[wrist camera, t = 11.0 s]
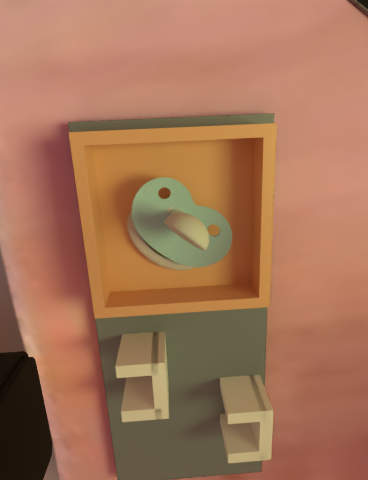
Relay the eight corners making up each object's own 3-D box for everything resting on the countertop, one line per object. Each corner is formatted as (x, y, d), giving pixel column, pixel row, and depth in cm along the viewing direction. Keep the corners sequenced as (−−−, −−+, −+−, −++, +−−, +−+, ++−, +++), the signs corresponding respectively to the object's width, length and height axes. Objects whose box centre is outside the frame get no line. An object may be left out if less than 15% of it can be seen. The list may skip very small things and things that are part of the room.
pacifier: (187, 282, 26) (237, 224, 25) (192, 328, 20) (258, 254, 19) (109, 228, 24) (158, 162, 23) (89, 260, 19) (153, 174, 17)
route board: (268, 114, 24) (296, 108, 19) (258, 460, 34) (274, 515, 29) (72, 122, 23) (47, 119, 18) (119, 472, 33) (111, 530, 28)
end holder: (263, 124, 23) (276, 123, 20) (259, 290, 27) (269, 307, 24) (79, 132, 22) (68, 132, 20) (101, 300, 26) (94, 318, 24)
